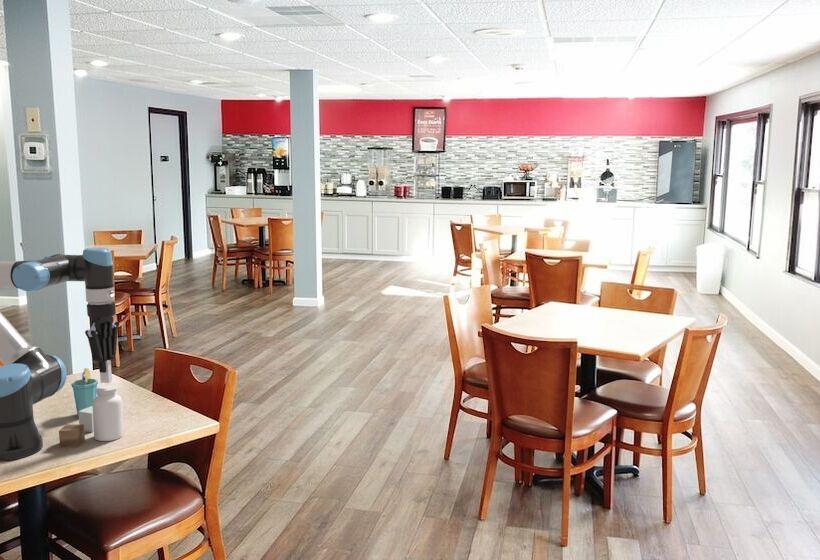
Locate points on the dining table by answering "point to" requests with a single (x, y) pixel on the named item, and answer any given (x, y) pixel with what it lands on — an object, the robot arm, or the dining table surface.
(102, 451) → the dining table surface
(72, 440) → the walnut cube
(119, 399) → the pill bottle
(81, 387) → the cup
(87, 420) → the white block
